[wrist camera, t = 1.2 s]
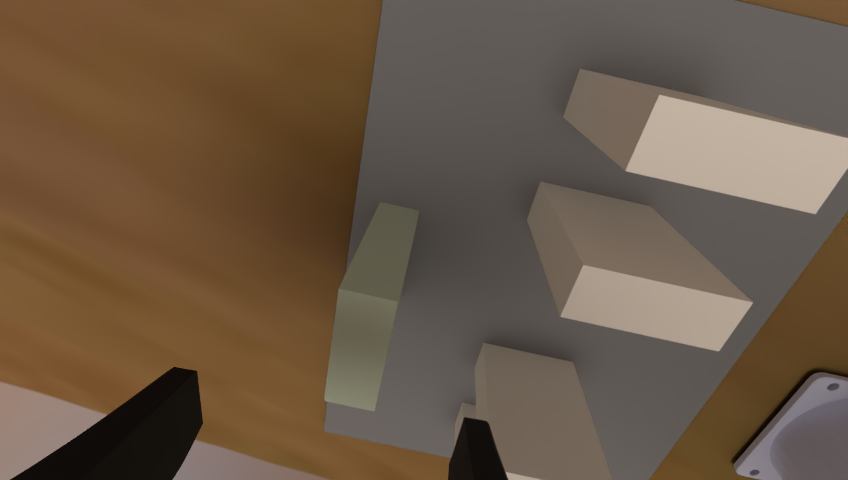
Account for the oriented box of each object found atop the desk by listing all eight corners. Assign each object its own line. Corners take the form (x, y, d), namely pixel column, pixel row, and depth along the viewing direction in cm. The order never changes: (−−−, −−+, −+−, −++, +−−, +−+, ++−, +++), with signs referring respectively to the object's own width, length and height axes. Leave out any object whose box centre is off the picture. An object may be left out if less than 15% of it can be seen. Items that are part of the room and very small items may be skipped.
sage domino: (419, 210, 19) (398, 301, 12) (400, 296, 21) (374, 411, 15) (380, 201, 19) (338, 288, 12) (365, 289, 21) (323, 401, 14)
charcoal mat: (950, 53, 15) (963, 54, 14) (633, 490, 27) (635, 497, 26) (395, -78, 14) (394, -80, 14) (325, 425, 26) (323, 431, 26)
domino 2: (579, 68, 15) (659, 94, 9) (704, 97, 16) (866, 141, 9) (562, 117, 16) (625, 171, 10) (681, 144, 16) (815, 214, 10)
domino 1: (483, 342, 22) (492, 469, 15) (573, 362, 22) (617, 495, 15) (474, 367, 22) (479, 497, 16) (560, 386, 23) (598, 522, 16)
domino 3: (540, 181, 18) (583, 265, 11) (650, 205, 18) (753, 302, 11) (527, 219, 18) (559, 316, 12) (632, 242, 18) (718, 351, 12)
